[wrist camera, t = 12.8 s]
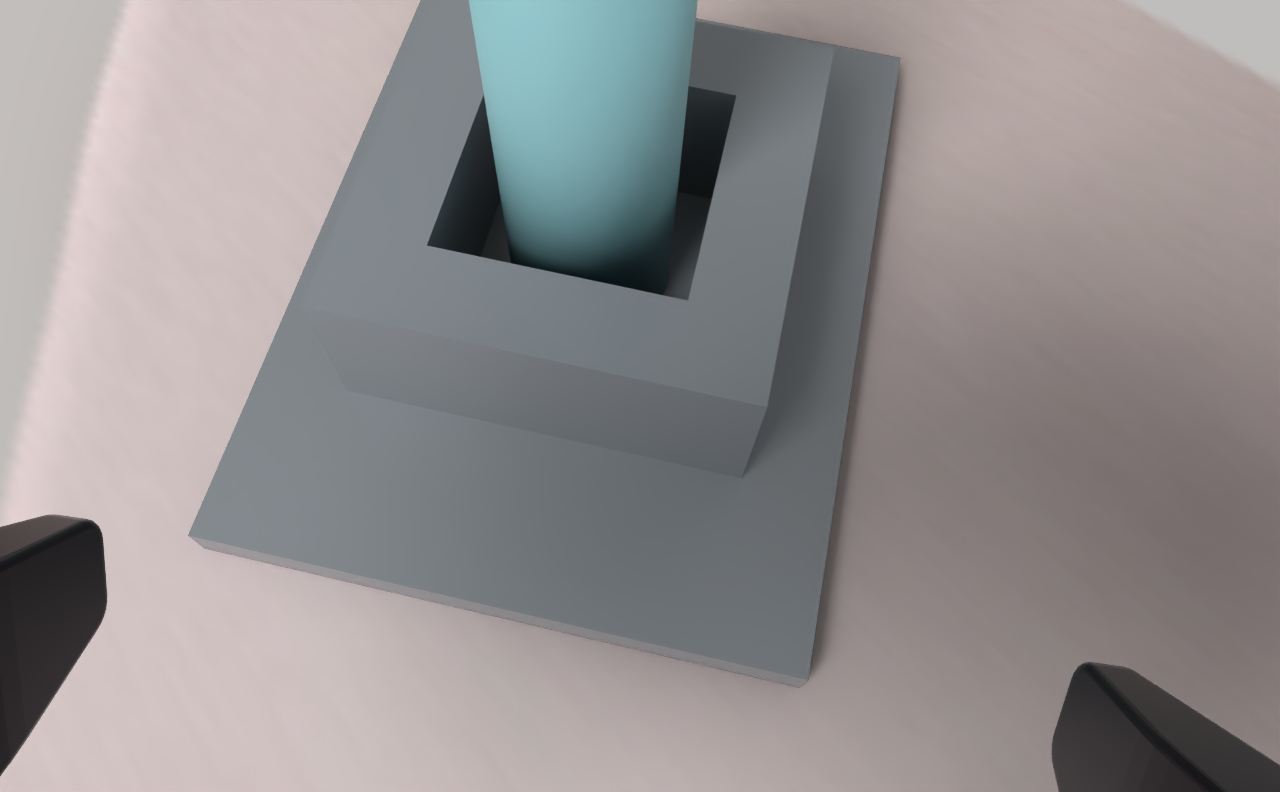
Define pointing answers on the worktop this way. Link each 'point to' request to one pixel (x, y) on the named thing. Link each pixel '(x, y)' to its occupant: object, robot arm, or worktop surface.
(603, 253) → the peg
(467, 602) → the socket holder
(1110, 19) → the worktop surface
